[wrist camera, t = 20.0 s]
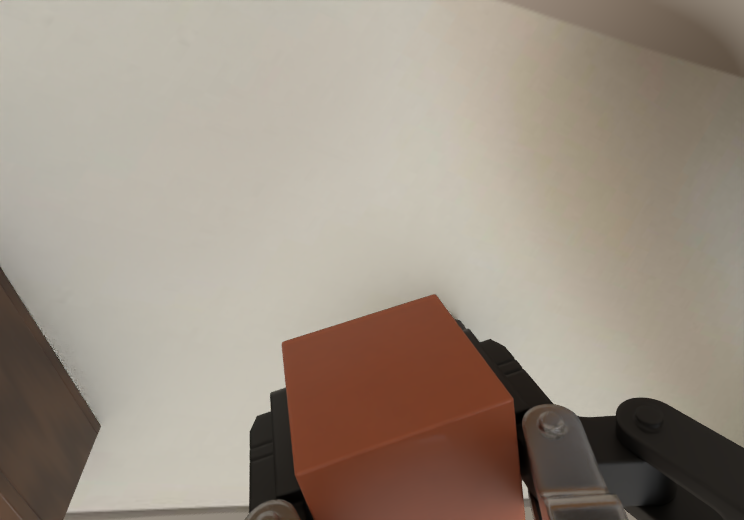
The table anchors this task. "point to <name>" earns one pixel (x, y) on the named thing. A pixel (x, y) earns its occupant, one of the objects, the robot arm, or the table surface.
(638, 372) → the table surface
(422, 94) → the table surface
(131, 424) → the table surface
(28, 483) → the cabinet
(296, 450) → the block
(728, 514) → the robot arm
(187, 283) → the table surface
